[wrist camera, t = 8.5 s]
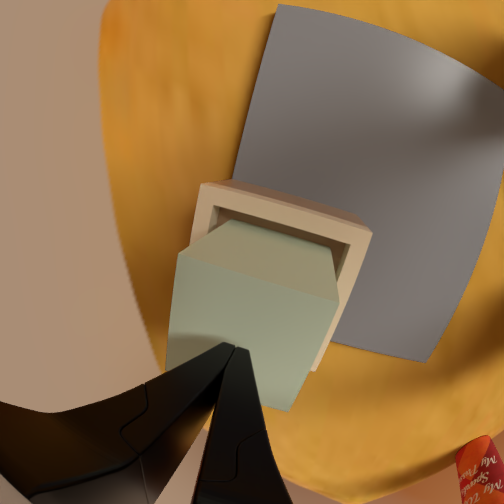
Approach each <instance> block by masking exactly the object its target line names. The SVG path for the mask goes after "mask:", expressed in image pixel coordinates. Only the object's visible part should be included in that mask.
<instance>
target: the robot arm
mask: <svg viewBox="0 0 504 504" xmlns="http://www.w3.org/2000/svg"><path fill="white" fill-rule="evenodd" d="M213 409H214V411H213ZM212 411H213V415H212V419H211V423H210V427H209V431H208V436H207V439H206V443H205V448H204V451H203V456H202V460H201V464H200V468H199V472H198V476H197V480H196V484H195V488H194V492H193V496H192V500H191V504H293V502H292V500H291V498H290V496H289V493H288V491H287V489H286V486H285V484H284V482H283V479H282V477H281V475H280V472H279V470H278V467H277V464H276V462H275V459H274V456H273V453H272V450H271V446H270V442H269V438H268V434H267V430H266V426H265V421H264V416H263V412H262V407H261V403H260V398H259V393H258V389H257V384H256V379H255V375H254V370H253V365H252V360H251V355H250V351H249V350H248V349H245V348H242V347H239V346H237V347H236V346H235V345H233V344H230V343H227V342H221V343H220V344H218V345H216V346H214V347H212V348H211V349H209V350H207V351H205V352H203V353H201V354H200V355H198V356H196V357H194V358H192V359H190V360H188V361H187V362H185V363H183V364H181V365H179V366H177V367H175V368H173V369H171V370H169V371H167V372H165V373H163V374H162V375H160V376H158V377H156V378H154V379H152V380H150V381H148V382H145V385H144V384H141V385H139V386H137V387H135V388H133V389H131V390H128V391H126V392H124V393H122V394H119V395H116V396H114V397H111V398H108V399H105V400H102V401H99V402H95V403H92V404H89V405H85V406H82V407H78V408H75V409H71V410H67V411H63V412H57V413H43V412H38V411H34V410H30V409H25V408H22V407H18V406H15V405H11V404H7V403H4V402H1V401H0V504H154V503H155V501H156V500H157V498H158V497H159V495H160V494H161V492H162V491H163V489H164V487H165V486H166V485H167V483H168V482H169V480H170V479H171V477H172V476H173V474H174V472H175V471H176V469H177V468H178V466H179V465H180V463H181V461H182V460H183V458H184V457H185V455H186V454H187V452H188V450H189V449H190V447H191V445H192V444H193V442H194V441H195V439H196V437H197V436H198V434H199V432H200V431H201V429H202V427H203V426H204V424H205V423H206V421H207V419H208V418H209V416H210V414H211V412H212Z"/></svg>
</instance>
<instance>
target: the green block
mask: <svg viewBox="0 0 504 504" xmlns="http://www.w3.org/2000/svg"><path fill="white" fill-rule="evenodd" d="M339 304H340V301H339V295H338V288H337V282H336V276H335V270H334V265H333V259H332V254H331V248H330V247H328V246H325V245H321V244H318V243H315V242H311V241H308V240H305V239H301V238H298V237H295V236H291V235H288V234H284V233H281V232H277V231H274V230H271V229H267V228H264V227H260V226H257V225H253V224H250V223H246V222H243V221H239V220H235V219H231V220H229V221H227V222H226V223H224V224H223V225H221V226H219V227H218V228H216V229H215V230H213V231H212V232H210V233H209V234H207V235H205V236H204V237H202V238H201V239H199V240H198V241H196V242H195V243H193V244H192V245H190V246H189V247H187V248H185V249H184V250H182V251H181V252H179V253H178V258H177V265H176V272H175V279H174V287H173V295H172V303H171V312H170V322H169V332H168V342H167V354H166V367H165V370H166V371H169V370H171V369H173V368H175V367H177V366H179V365H181V364H183V363H185V362H187V361H188V360H190V359H192V358H194V357H196V356H198V355H200V354H201V353H203V352H205V351H207V350H209V349H211V348H212V347H214V346H216V345H218V344H220V343H221V342H227V343H230V344H233V345H235V346H236V347H237V346H239V347H242V348H245V349H248V350H249V351H250V355H251V360H252V365H253V370H254V375H255V379H256V384H257V389H258V393H259V398H260V403H261V405H263V406H267V407H270V408H274V409H278V410H282V411H285V412H289V410H290V408H291V406H292V404H293V402H294V400H295V398H296V397H297V395H298V393H299V391H300V389H301V387H302V385H303V383H304V381H305V379H306V377H307V375H308V373H309V371H310V369H311V367H312V365H313V362H314V360H315V358H316V356H317V354H318V352H319V350H320V347H321V345H322V343H323V341H324V339H325V336H326V334H327V332H328V330H329V327H330V325H331V323H332V320H333V318H334V316H335V313H336V311H337V308H338V306H339Z"/></svg>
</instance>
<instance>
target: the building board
mask: <svg viewBox="0 0 504 504" xmlns="http://www.w3.org/2000/svg"><path fill="white" fill-rule="evenodd" d="M503 169H504V90H503V89H502V88H500V87H499V86H497V85H496V84H494V83H493V82H492V81H490V80H488V79H487V78H485V77H484V76H482V75H481V74H479V73H477V72H476V71H474V70H472V69H471V68H469V67H467V66H466V65H464V64H462V63H460V62H459V61H457V60H455V59H453V58H451V57H449V56H447V55H445V54H443V53H441V52H439V51H437V50H435V49H433V48H431V47H429V46H427V45H425V44H422V43H420V42H418V41H415V40H413V39H411V38H408V37H406V36H403V35H401V34H398V33H395V32H393V31H390V30H387V29H384V28H382V27H379V26H376V25H373V24H369V23H366V22H363V21H359V20H356V19H352V18H349V17H345V16H341V15H337V14H333V13H328V12H324V11H319V10H314V9H309V8H303V7H297V6H290V5H283V4H278V7H277V11H276V14H275V17H274V20H273V24H272V27H271V31H270V34H269V38H268V41H267V44H266V48H265V52H264V55H263V59H262V62H261V66H260V69H259V73H258V77H257V81H256V84H255V88H254V92H253V96H252V99H251V103H250V107H249V111H248V115H247V119H246V123H245V127H244V131H243V135H242V139H241V143H240V147H239V151H238V155H237V160H236V164H235V168H234V172H233V177H232V179H228V180H222V181H215V182H209V183H203V184H201V185H200V190H199V195H198V200H197V205H196V210H195V215H194V221H193V226H192V232H191V238H190V243H189V246H190V245H192V244H193V243H195V242H196V241H198V240H199V239H201V238H202V237H204V236H205V235H207V234H209V233H210V232H212V231H213V230H215V229H216V228H218V227H219V226H221V225H223V224H224V223H226V222H227V221H229V220H231V219H235V220H239V221H243V222H246V223H250V224H253V225H257V226H260V227H264V228H267V229H271V230H274V231H277V232H281V233H284V234H288V235H291V236H295V237H298V238H301V239H305V240H308V241H311V242H315V243H318V244H321V245H325V246H328V247H330V248H331V254H332V259H333V265H334V270H335V276H336V282H337V288H338V295H339V301H340V304H339V306H338V308H337V311H336V313H335V316H334V318H333V320H332V323H331V325H330V327H329V330H328V332H327V334H326V336H325V339H324V341H323V343H322V345H321V347H320V350H319V352H318V354H317V356H316V358H315V360H314V362H313V365H312V367H311V369H310V371H313V372H315V371H316V369H317V367H318V365H319V363H320V361H321V359H322V357H323V355H324V353H325V350H326V348H327V346H328V344H329V342H330V341H333V342H337V343H340V344H344V345H348V346H352V347H356V348H360V349H364V350H368V351H372V352H377V353H381V354H385V355H390V356H394V357H399V358H403V359H408V360H413V361H418V362H422V363H426V362H427V360H428V359H429V357H430V355H431V354H432V352H433V350H434V349H435V347H436V345H437V344H438V342H439V340H440V338H441V337H442V335H443V333H444V331H445V329H446V327H447V326H448V324H449V322H450V320H451V318H452V316H453V314H454V312H455V310H456V308H457V306H458V304H459V302H460V300H461V298H462V295H463V293H464V291H465V289H466V287H467V284H468V282H469V280H470V277H471V275H472V273H473V270H474V268H475V265H476V263H477V260H478V257H479V255H480V252H481V249H482V246H483V244H484V241H485V238H486V235H487V232H488V228H489V225H490V222H491V219H492V215H493V212H494V208H495V204H496V200H497V196H498V192H499V188H500V184H501V179H502V174H503Z"/></svg>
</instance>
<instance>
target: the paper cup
mask: <svg viewBox="0 0 504 504" xmlns="http://www.w3.org/2000/svg"><path fill="white" fill-rule="evenodd" d="M455 459H456V466H457V471H458V478H459V484H460V491H461V498H462V504H504V464H503V462H502V460H501V458H500V456H499V453H498V451H497V449H496V447H495V445H494V443H493V442H492V440H491V438H490V437H489V436H488V435H485V436H481V437H478V438H476V439H474V440H472V441H471V442H469V443H468V444H466V445H465V446H464V447H462V448H461V449H460V450H459V451H458V452H457V454H456V456H455Z"/></svg>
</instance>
